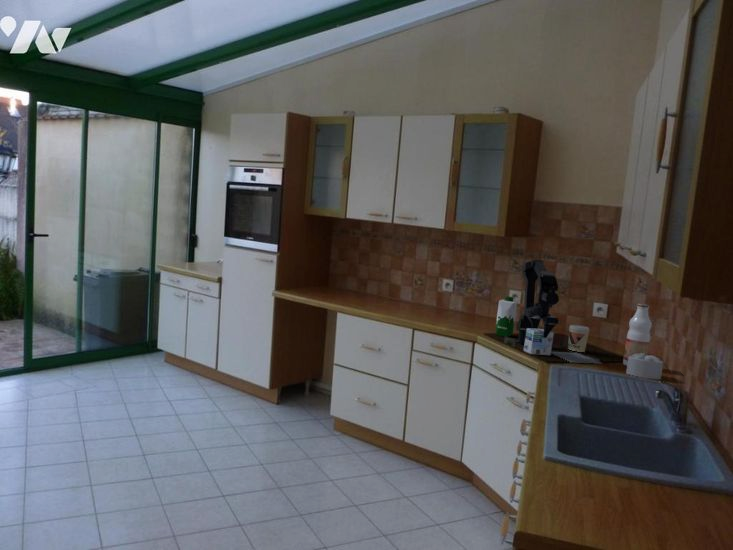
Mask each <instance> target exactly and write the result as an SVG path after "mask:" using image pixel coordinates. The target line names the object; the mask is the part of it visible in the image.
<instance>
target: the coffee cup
mask: <svg viewBox="0 0 733 550" xmlns="http://www.w3.org/2000/svg"><path fill="white" fill-rule="evenodd" d="M568 328H569V329H568V330H569V331H568V344H567V350H568V349H569V350H572V351H577V352H584V353H585V352H586V347H587V343H588V339H589V333H590V330H591V329H590V327H588V326H585V325H579V324H570V325H569V327H568ZM569 350H568V351H569ZM572 351H571V352H572ZM577 352H576V353H577Z"/></svg>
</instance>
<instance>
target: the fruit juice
mask: <svg viewBox="0 0 733 550" xmlns="http://www.w3.org/2000/svg"><path fill="white" fill-rule="evenodd" d="M636 308H637V309H636V310H635V311H636V312H635V313H634V315H633V317H631V318H630V319H629V323H628V325H629V326H628V327H629V329H628V331H627V333H626V341H625V346H624V355H623V358H622V359H623V360H622V364H623V365H624V366H626V367H627V364H628V358H629V356H633V355H634V354H640V353H644V354H645V355H646V356H647V355H648V354H649V353H648V352H649V346H650V341H651V334H650V332H651V329H652V327H653V326H652V324H653V323H652V321H651V319H650V316H649V315H650V314H649V309H650V305H649V304H645V303H637V304H636Z"/></svg>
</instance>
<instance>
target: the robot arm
mask: <svg viewBox="0 0 733 550" xmlns="http://www.w3.org/2000/svg"><path fill="white" fill-rule="evenodd" d="M521 273H522V277H523V280H524V281H525V286H524V287H525V288H524V289H525V290H524V304H523V305H524V306H523V312H522V313H521V314H520V316H519V320H518V321H517V323H516V325H515V326H516V327H515V329H516V331H518V332H519V333H518V340H515V341H516V342H515V343H517V342H518V343H517V344H519V345H523V344H525V337H526V330H527V328H531V329H539V325H540V323H541V324H542V325H543V329H544V338H546V337H547V336H548V335H549V333H550V332H552V330H553V329H554V328H555V326H557V325H559V323H560V319H559V318H558V317H556V316H552V314H551V313H550V310H551V308H553V306H555V305H556V304H558V302H559V300H560V298H559V297H560V296H559V295H558V293H556V292H558V290H559V284H558V280H557V276H556V275H555V274H554V273H552V272H549V270H548V269H547V267H546V266H545V264H544V260H542V259H536V258H535V259H534V258H533V259H532V260H530V261H526V262H525V263H524V264H523V265H522V267H521ZM536 282H537V286H538V297H537V302H535V297H536V295H535V294H536ZM541 320H542V322H541Z"/></svg>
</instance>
